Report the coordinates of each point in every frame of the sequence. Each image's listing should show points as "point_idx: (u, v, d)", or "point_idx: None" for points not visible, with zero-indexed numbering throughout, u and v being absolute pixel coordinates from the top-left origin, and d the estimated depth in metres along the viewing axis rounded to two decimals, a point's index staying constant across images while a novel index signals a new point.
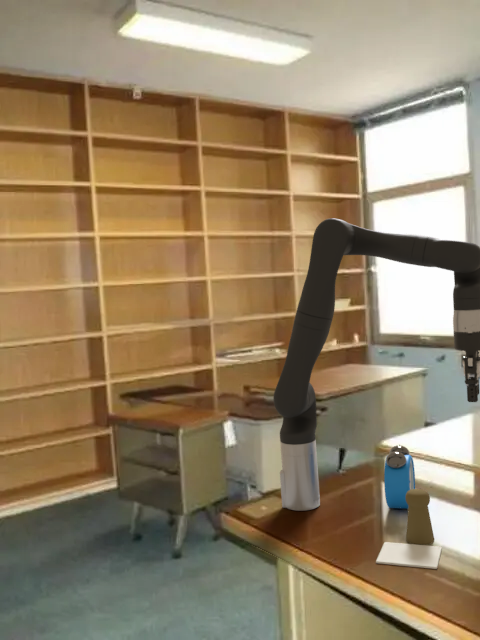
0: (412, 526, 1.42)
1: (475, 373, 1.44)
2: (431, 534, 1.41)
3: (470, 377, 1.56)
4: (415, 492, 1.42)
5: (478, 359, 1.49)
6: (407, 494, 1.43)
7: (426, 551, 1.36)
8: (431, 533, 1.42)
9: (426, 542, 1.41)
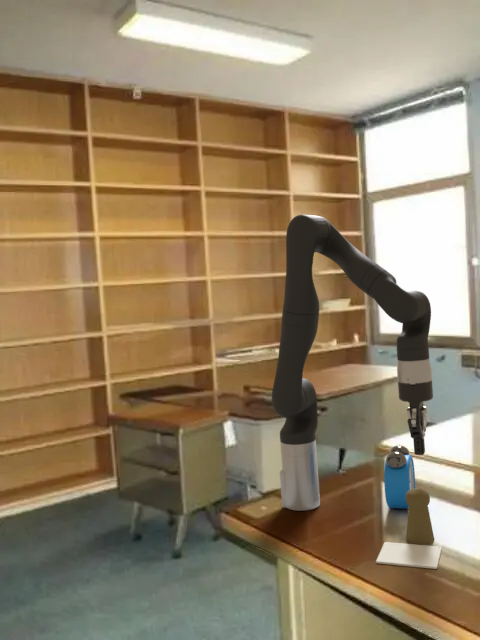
0: (412, 526, 1.42)
1: (420, 432, 1.44)
2: (431, 534, 1.41)
3: None
4: (415, 492, 1.42)
5: (422, 412, 1.46)
6: (407, 494, 1.43)
7: (426, 551, 1.36)
8: (431, 533, 1.42)
9: (426, 542, 1.41)
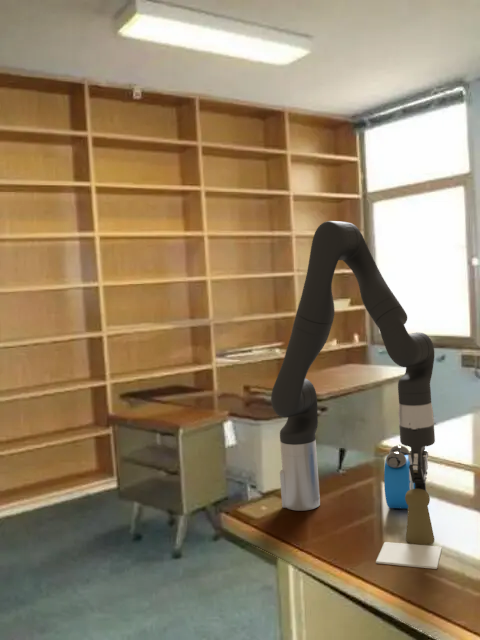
0: (412, 526, 1.41)
1: (421, 477, 1.42)
2: (431, 534, 1.41)
3: None
4: (414, 493, 1.41)
5: (424, 457, 1.44)
6: (407, 495, 1.42)
7: (426, 551, 1.36)
8: (431, 533, 1.41)
9: (426, 542, 1.41)
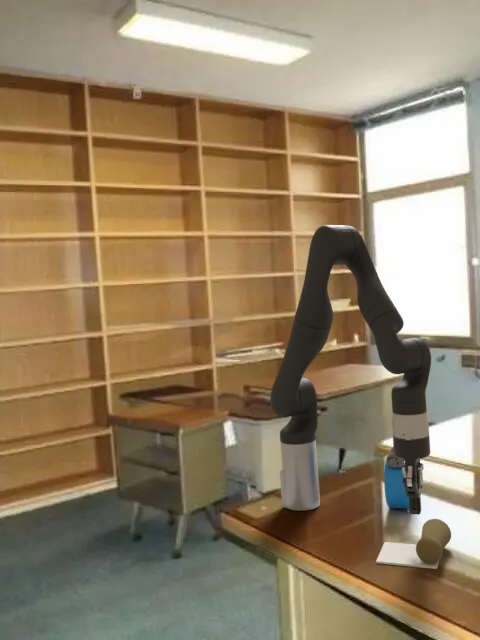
0: None
1: (416, 491, 1.34)
2: None
3: None
4: (421, 552, 1.30)
5: (419, 469, 1.36)
6: (420, 543, 1.30)
7: None
8: None
9: None
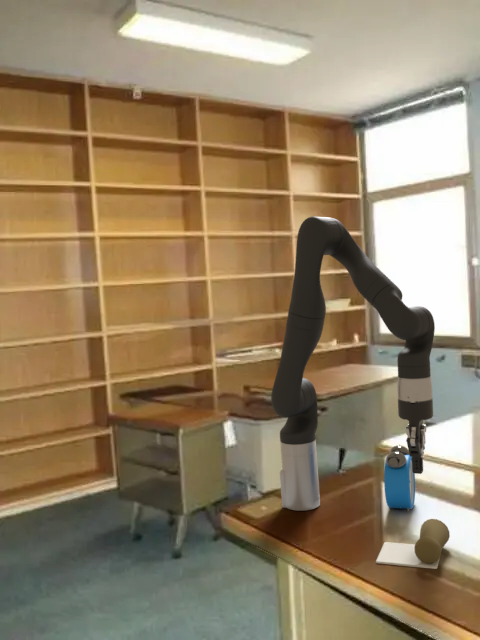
0: None
1: (418, 451, 1.42)
2: None
3: None
4: (420, 553, 1.30)
5: (422, 431, 1.43)
6: (417, 544, 1.30)
7: None
8: None
9: None
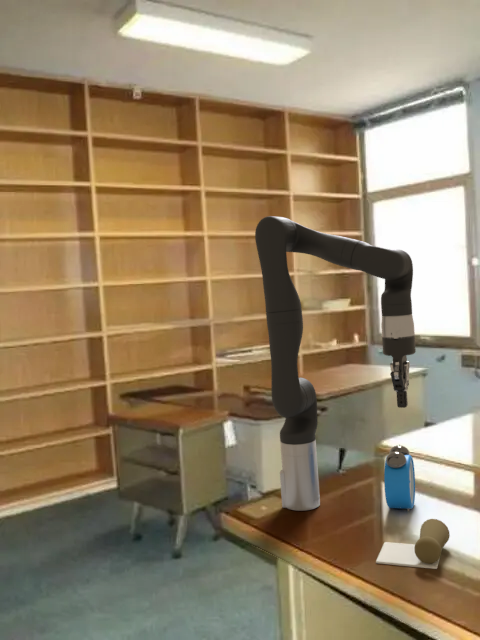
0: None
1: (402, 384, 1.50)
2: None
3: None
4: (420, 553, 1.30)
5: (405, 366, 1.52)
6: (417, 544, 1.30)
7: None
8: None
9: None
